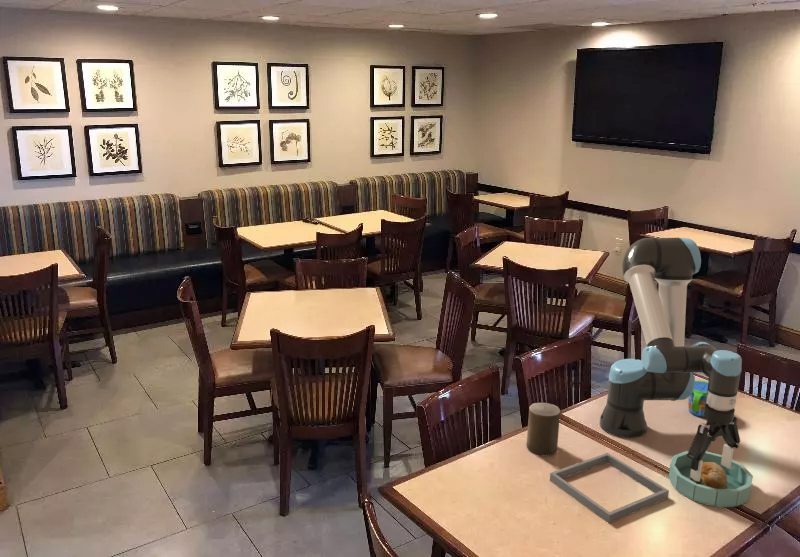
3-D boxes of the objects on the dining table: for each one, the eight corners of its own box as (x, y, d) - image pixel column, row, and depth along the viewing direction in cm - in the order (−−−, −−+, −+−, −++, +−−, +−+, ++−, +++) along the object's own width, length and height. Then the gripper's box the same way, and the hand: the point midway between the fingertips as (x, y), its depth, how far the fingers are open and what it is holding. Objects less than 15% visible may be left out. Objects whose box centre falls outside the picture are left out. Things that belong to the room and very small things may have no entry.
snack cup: (694, 401, 244) (697, 375, 241) (723, 410, 237) (727, 384, 234) (675, 415, 234) (678, 388, 231) (706, 425, 226) (709, 398, 224)
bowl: (653, 477, 196) (655, 462, 194) (700, 458, 206) (702, 444, 204) (717, 516, 178) (720, 499, 177) (765, 493, 188) (768, 478, 187)
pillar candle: (544, 459, 206) (548, 415, 202) (520, 446, 213) (523, 404, 209) (563, 448, 212) (567, 406, 208) (538, 437, 219) (541, 395, 215)
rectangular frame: (549, 480, 194) (550, 472, 194) (606, 460, 205) (607, 452, 205) (608, 523, 175) (609, 515, 174) (667, 498, 186) (668, 490, 185)
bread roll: (722, 505, 187) (739, 484, 185) (689, 488, 188) (705, 466, 185) (714, 486, 197) (729, 465, 194) (682, 469, 197) (698, 448, 195)
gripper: (702, 421, 176) (693, 491, 182) (760, 400, 188) (749, 467, 193) (678, 410, 182) (670, 478, 188) (736, 390, 194) (726, 455, 200)
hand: (710, 472), depth 191 cm, fingers open, 13 cm apart
